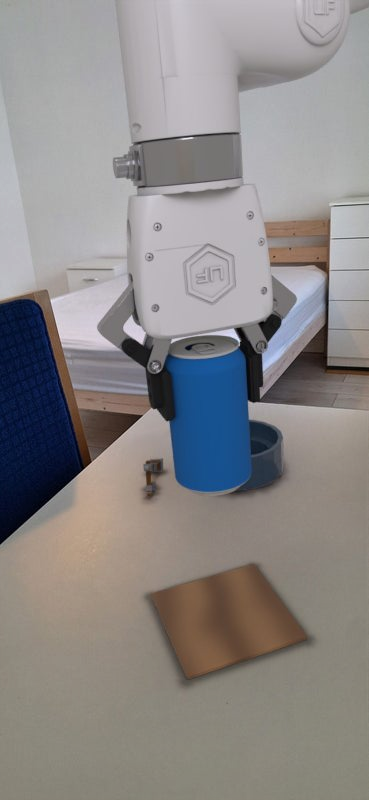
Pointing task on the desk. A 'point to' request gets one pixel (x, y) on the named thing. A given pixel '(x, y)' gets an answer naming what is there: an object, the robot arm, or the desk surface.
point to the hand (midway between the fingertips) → (207, 404)
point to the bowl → (264, 454)
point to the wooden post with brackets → (149, 467)
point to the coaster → (225, 620)
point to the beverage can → (209, 414)
